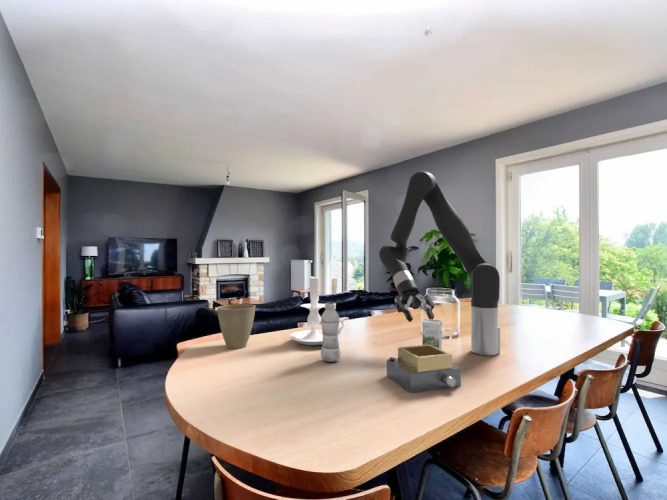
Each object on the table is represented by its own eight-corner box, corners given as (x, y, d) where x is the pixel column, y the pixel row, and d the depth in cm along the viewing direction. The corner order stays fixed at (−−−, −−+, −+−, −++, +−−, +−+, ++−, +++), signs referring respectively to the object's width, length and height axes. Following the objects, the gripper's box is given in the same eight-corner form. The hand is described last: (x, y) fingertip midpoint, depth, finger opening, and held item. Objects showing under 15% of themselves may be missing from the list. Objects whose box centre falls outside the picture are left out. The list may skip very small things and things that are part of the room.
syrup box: (442, 361, 120) (442, 319, 121) (439, 367, 115) (439, 322, 115) (425, 359, 123) (425, 318, 123) (421, 364, 118) (421, 321, 118)
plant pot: (263, 344, 143) (263, 305, 143) (235, 353, 131) (235, 310, 131) (237, 340, 151) (237, 302, 151) (208, 348, 139) (208, 307, 139)
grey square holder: (432, 370, 112) (432, 341, 112) (468, 390, 96) (467, 356, 96) (386, 375, 107) (386, 346, 107) (416, 397, 91) (416, 362, 91)
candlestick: (356, 344, 144) (356, 275, 144) (301, 352, 132) (301, 278, 132) (333, 333, 162) (332, 273, 162) (282, 340, 150) (282, 274, 151)
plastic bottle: (338, 364, 118) (338, 304, 118) (318, 363, 119) (318, 304, 119) (341, 358, 124) (341, 302, 124) (323, 357, 125) (323, 301, 125)
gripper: (392, 279, 131) (407, 314, 120) (425, 278, 136) (443, 312, 125) (385, 291, 136) (400, 327, 125) (418, 290, 141) (434, 324, 130)
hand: (421, 320), depth 125 cm, fingers open, 8 cm apart
